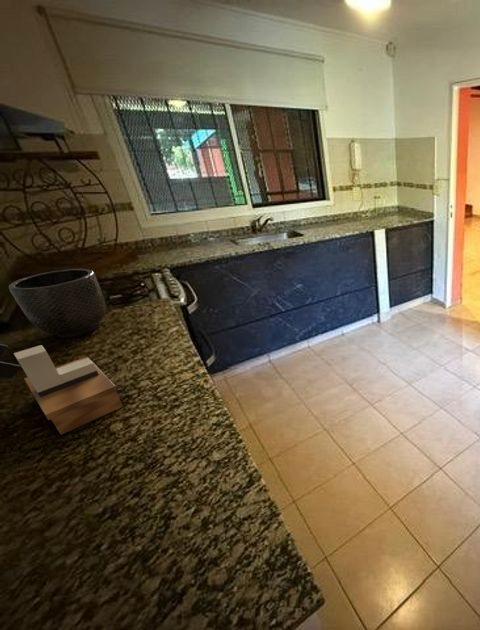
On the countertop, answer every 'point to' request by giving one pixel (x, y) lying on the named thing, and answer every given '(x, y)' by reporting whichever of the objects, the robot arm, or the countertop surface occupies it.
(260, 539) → the countertop surface
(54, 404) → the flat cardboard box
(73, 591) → the countertop surface
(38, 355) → the black-striped white block
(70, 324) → the planter
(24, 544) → the countertop surface
